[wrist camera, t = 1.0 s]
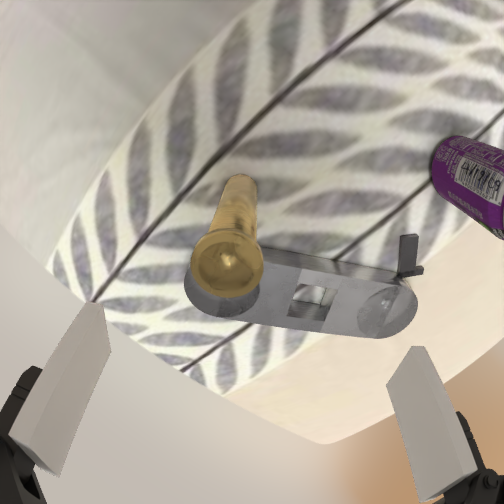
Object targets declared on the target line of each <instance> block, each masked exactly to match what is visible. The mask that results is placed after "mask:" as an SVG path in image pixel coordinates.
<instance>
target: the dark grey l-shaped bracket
mask: <svg viewBox="0 0 504 504" xmlns="http://www.w3.org/2000/svg"><path fill="white" fill-rule="evenodd" d="M418 239H419V236H418V235H417V234H411V235H403V236H400V250H399V261H398V272H397V273H398V275H399V276H400V277H402V278H405V277H411V276H416V275H422V274H423V271H424V268H423V267H422V266H417V267H415V266H416V258H417V249H418Z"/></svg>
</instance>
